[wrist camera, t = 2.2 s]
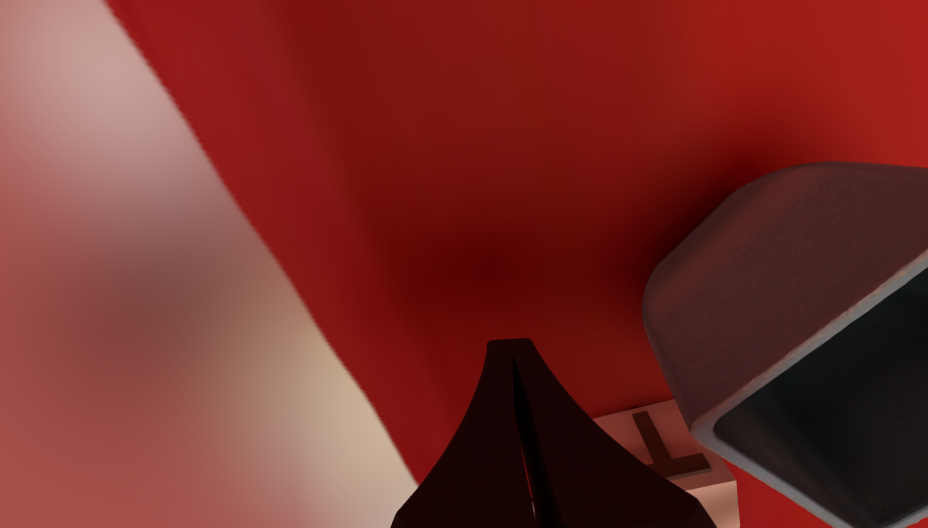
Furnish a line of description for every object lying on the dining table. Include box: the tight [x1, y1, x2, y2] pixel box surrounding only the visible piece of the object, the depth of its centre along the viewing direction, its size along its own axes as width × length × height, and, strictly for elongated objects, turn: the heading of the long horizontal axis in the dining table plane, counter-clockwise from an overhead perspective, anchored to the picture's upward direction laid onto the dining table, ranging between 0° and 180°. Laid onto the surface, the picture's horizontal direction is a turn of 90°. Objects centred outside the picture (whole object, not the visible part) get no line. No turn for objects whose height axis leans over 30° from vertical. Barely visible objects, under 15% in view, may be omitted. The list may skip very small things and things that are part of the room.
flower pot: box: [642, 161, 928, 528], centre depth 14 cm, size 9×9×9 cm
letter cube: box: [593, 399, 740, 528], centre depth 21 cm, size 5×5×5 cm
